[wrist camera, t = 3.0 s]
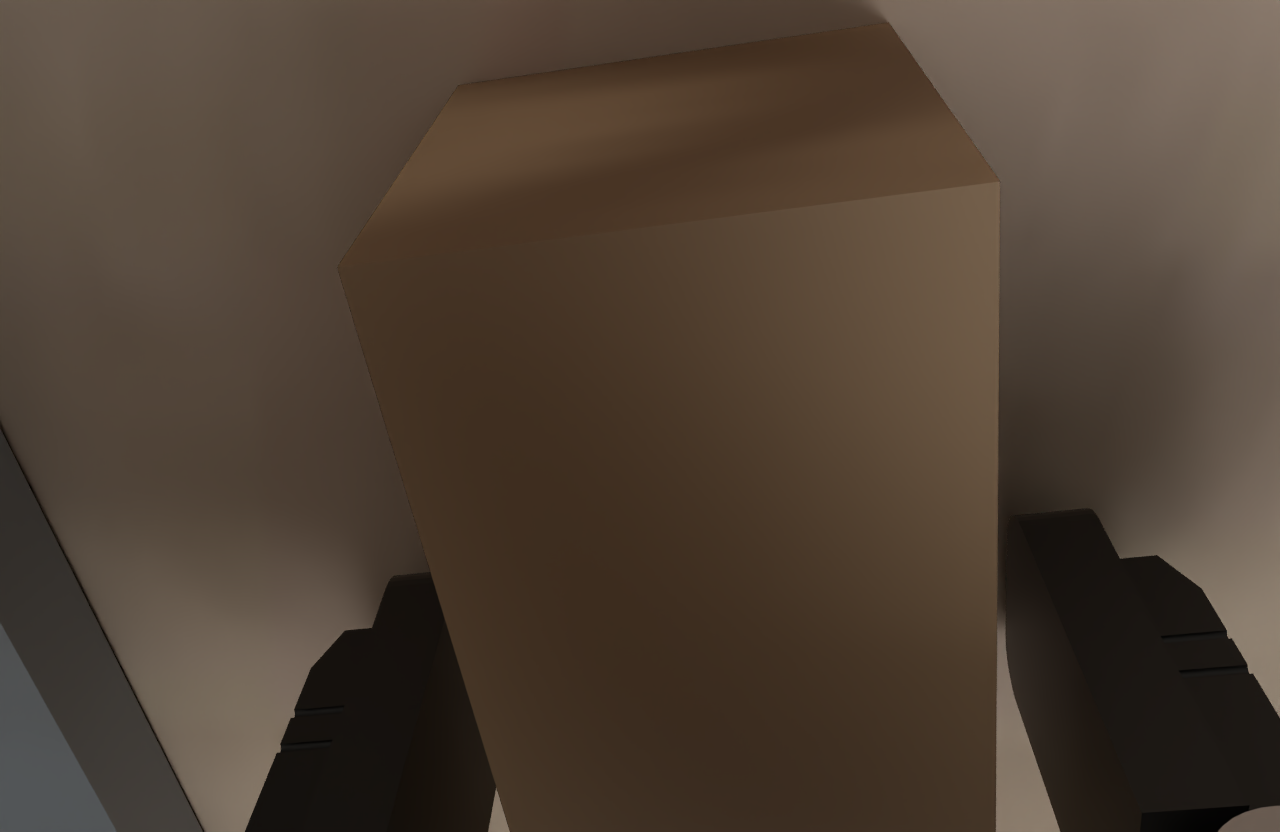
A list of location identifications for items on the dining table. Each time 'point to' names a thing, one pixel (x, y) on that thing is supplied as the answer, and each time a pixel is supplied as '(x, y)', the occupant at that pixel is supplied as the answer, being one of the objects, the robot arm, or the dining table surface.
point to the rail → (67, 697)
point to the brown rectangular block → (705, 434)
